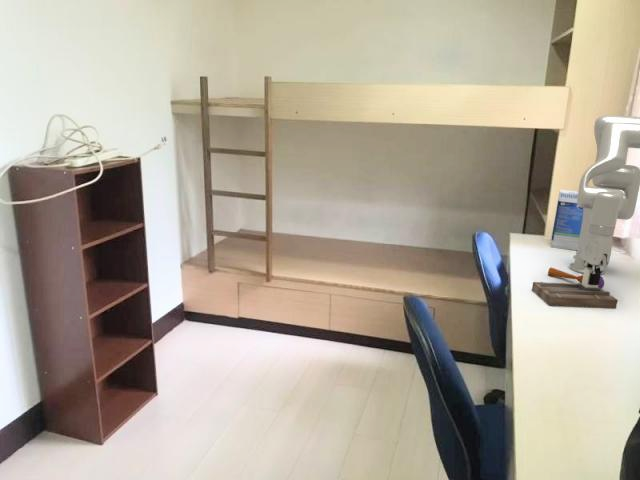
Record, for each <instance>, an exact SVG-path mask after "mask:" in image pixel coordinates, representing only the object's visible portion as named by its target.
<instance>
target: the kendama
mask: <svg viewBox="0 0 640 480" xmlns="http://www.w3.org/2000/svg"><path fill="white" fill-rule="evenodd" d="M547 275H548V276H550V277H556V278H561V279H562V278H563V279H569V280H570V279H571V280H576V281H577V282H578V283H582V279H583V274H582V275H577V276H576V275H574V274H570V273H569V272H565V271H564V270H563V271H562V270H560V269H557V268H554V267H549V268H548V271H547ZM604 287H605V280H604V278H603V277H602V275H600V280H599V288H601V289H602V290H603V288H604Z"/></svg>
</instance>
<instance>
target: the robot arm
mask: <svg viewBox="0 0 640 480" xmlns="http://www.w3.org/2000/svg"><path fill="white" fill-rule="evenodd" d="M593 132H594V139H595V143H596V157H595V161H594V163H593V164H592V165H590V166H589V167H588V168H587V169H586V170H585V171H584V172H583V174H582V175H581V177H580V180H579V186H578V190H577V191H578V195H577V203H578V205H579V206H580V207H582V208H583V219H582V226H581V231H580V236H579V241H578V246H577V251H575V255H573V256H572V257H573V259H574V262H570V263H569V266H568V267H569V269H571V270H572V271H575V272H577V273H581V274H584V269H585V267H587V268H592V273H590V278H589V283H588V284H589V285H599V280H600V276H602V275H604V274H605V272H606V271H607V270H608V265H609V263H610V260H611V255H612V248H613V237H614V235H615V234H614V233H615V229H616V224H617V220H624V221H625V220H631V219H632V218H633V216H634V213H635V211H636V206H637V201H638V196H639V192H640V168H639V167H638V166H636V165H631V164H627V158H628V157H627V156H628V153H629V152H628V151H629V149H640V116H633V115H632V116H629V115H618V114H617V115H613V114H611V115H610V114H607V115H601V116H598V117H597V118H596V119H595V121H594V127H593ZM591 180H592V184H593V186H589V183H590V181H591ZM596 268H597V269H596Z"/></svg>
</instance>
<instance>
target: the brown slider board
mask: <svg viewBox="0 0 640 480" xmlns="http://www.w3.org/2000/svg"><path fill="white" fill-rule="evenodd" d="M579 283H580V282H578V283H569V282H567V283H566V282H565V283H563V282H545V281H537V282H536V281H533V282H532V287H531V291H532V292H533V293H534V294H535V295H536V296H538V297H539V298H540V299H541V300H542V301H543V302H544V303H545V304H547V305H548V306H549V307H567V308H570V307H571V308H590V309H591V308H592V309H594V308H595V309H617V306H618V301H619V300H618V299H617V298H615V297H614V296H612V295H611V292H610V291H605V290H604V289H603V288H602V289H601V288H600V291H583V290H581V289H579V288H578V286H579ZM598 287H599V285H598Z"/></svg>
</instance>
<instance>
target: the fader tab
mask: <svg viewBox="0 0 640 480" xmlns="http://www.w3.org/2000/svg"><path fill="white" fill-rule="evenodd" d="M596 269H597V268H596ZM590 273H592V268H587V267H585V269H584V273H582V275H583V279H582V283H580V282H578V283H579V286H578V288H579V289H581V290H583V291H600V288H599V287H598V285H589V284H588V283H589V278H590Z"/></svg>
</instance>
